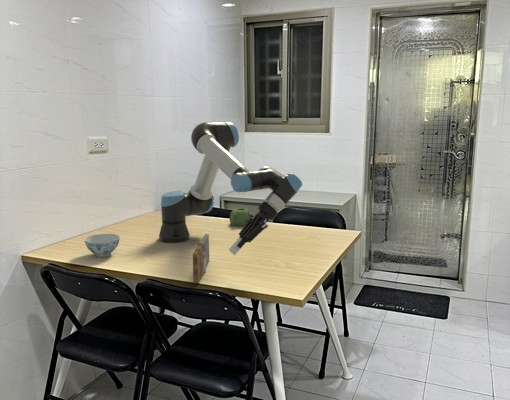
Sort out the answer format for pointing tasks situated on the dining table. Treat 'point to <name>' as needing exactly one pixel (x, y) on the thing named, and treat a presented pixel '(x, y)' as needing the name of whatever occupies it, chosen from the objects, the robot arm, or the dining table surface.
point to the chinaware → (102, 244)
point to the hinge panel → (206, 259)
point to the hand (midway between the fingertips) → (231, 252)
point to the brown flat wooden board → (198, 261)
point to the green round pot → (239, 216)
